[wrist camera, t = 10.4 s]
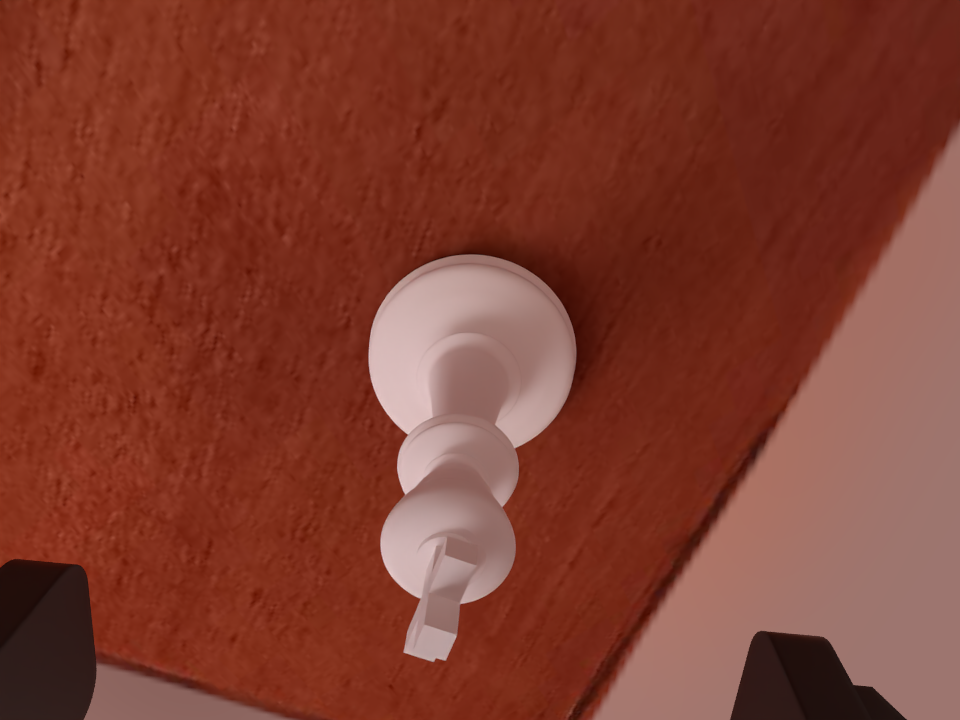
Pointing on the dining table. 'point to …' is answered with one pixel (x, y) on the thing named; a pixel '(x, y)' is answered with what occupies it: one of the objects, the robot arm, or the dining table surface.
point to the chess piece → (463, 424)
